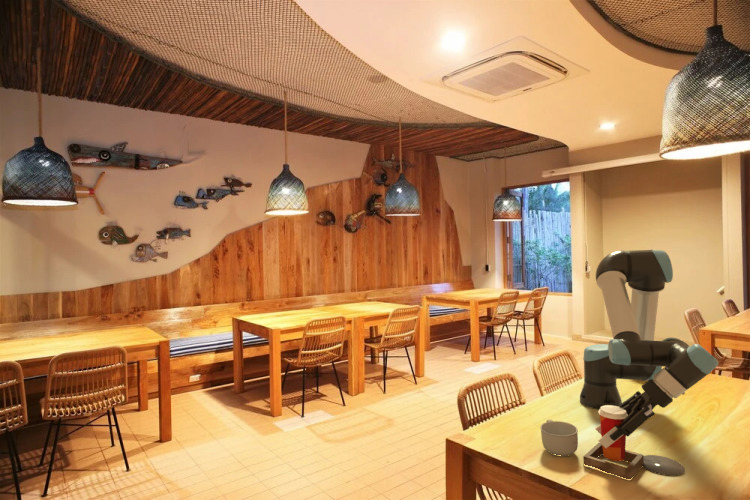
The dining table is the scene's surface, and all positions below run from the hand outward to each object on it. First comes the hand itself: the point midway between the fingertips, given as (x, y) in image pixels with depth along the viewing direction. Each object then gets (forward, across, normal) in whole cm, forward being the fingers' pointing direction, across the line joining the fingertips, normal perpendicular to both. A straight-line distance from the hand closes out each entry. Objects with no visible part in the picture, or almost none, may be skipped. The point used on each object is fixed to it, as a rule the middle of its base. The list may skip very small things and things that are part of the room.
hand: (600, 437), depth 134 cm
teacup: (+14, +6, +2) cm, 15 cm away
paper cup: (+1, 0, -6) cm, 6 cm away
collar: (+3, 0, -8) cm, 8 cm away
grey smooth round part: (-6, +4, -17) cm, 18 cm away
